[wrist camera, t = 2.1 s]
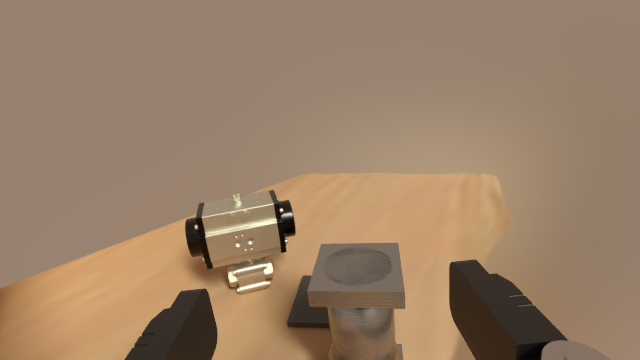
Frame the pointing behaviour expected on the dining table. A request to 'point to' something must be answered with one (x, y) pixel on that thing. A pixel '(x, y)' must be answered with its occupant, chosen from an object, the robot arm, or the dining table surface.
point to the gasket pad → (307, 309)
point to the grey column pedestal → (359, 298)
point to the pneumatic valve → (242, 236)
